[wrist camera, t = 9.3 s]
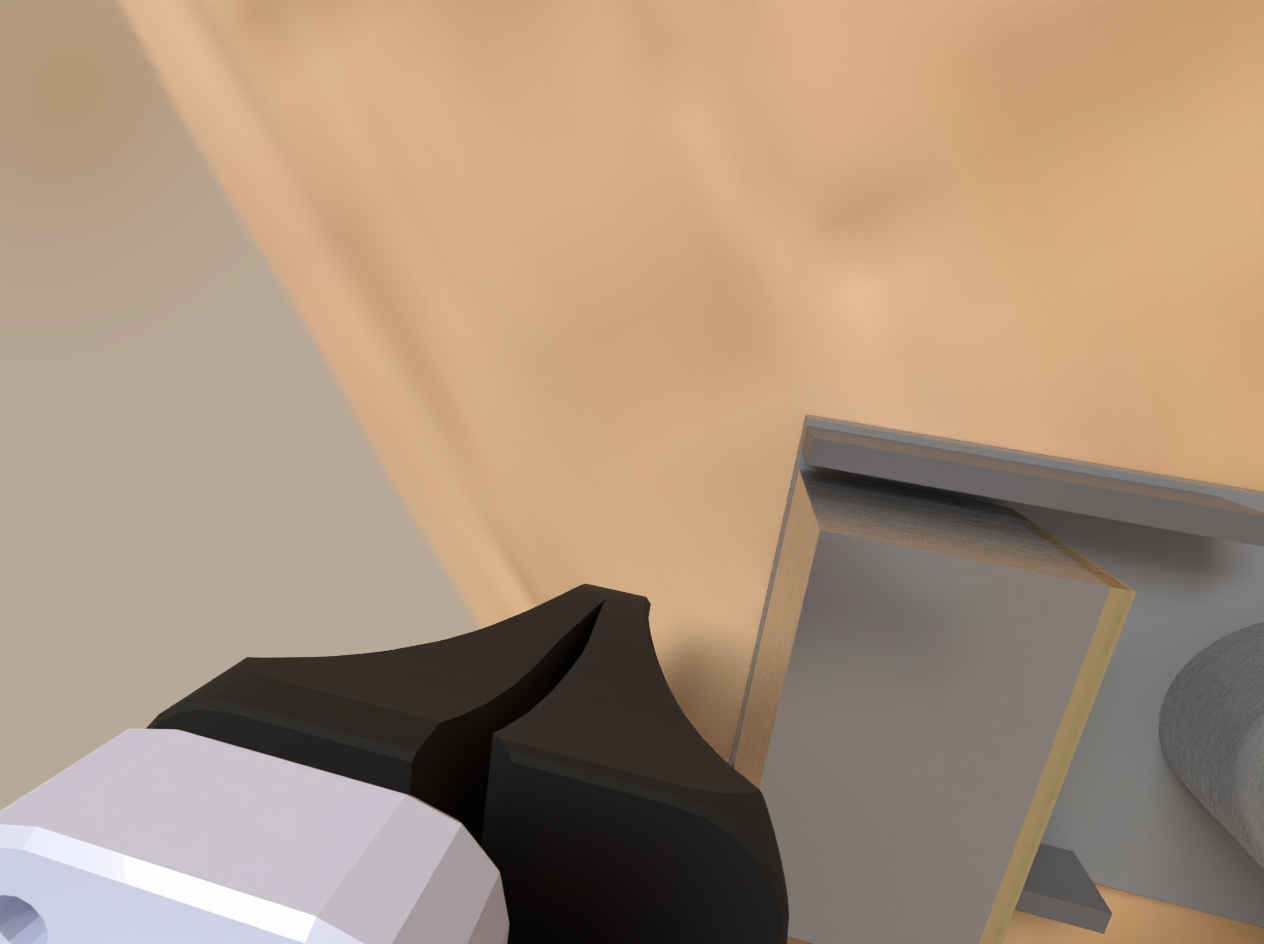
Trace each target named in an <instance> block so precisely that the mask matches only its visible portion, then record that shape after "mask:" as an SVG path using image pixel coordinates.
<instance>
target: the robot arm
mask: <svg viewBox="0 0 1264 944" xmlns="http://www.w3.org/2000/svg"><path fill="white" fill-rule="evenodd" d="M650 605H651V604H650V602H649V601H648V599H647V598H646V597H644V596H639V595H635V594H630V593H626V592H621V591H617V590H612V589H607V588H603V587H598V586H594V585H589V584H583V585H580V586H578V587H576V588H574V589H572V590H570V591H568V592H566V593H564V594H562V595H560V596H558V597H556V598H554V599H551V600H549V601H547V602H545V603H543V604H541V605H539V606H537V607H535V608H533V609H530V610H528V611H526V612H523V613H521V614H519V615H516V616H514V617H511V618H509V619H506V620H504V621H501V622H499V623H496V624H494V625H491V626H489V627H486V628H483V629H480V630H477V631H474V632H471V633H467V634H464V635H460V636H456V637H453V638H449V639H445V640H441V641H437V642H432V643H427V644H422V645H416V646H411V647H406V648H400V649H395V650H389V651H382V652H373V653H365V654H355V655H343V656H328V657H289V658H252V657H251V658H250V657H247V658H245V659H244V660H242V661H241V662H239V663H238V664H236V665H234V666H233V667H231V668H230V669H228V670H227V671H225V672H224V673H222V674H221V675H219V676H218V677H216V678H214V679H213V680H211V681H210V682H208V683H207V684H205V685H204V686H202V687H200V688H199V689H197V690H196V691H194V692H193V693H191V694H190V695H188V696H187V697H185V698H184V699H182V700H181V701H179V702H177V703H176V704H175V705H173V706H171V707H170V708H168V709H167V710H165V711H163V712H162V713H160V714H159V715H158V716H157V717H156V718H155V719H154V720H153V721H152V723H151V724H150V725H149V726H148V727H147V728H146V729H128V730H126V731H124V732H123V733H121V734H120V735H118V736H117V737H115V738H114V739H112V740H110V741H109V742H107V743H106V744H104V745H102V746H101V747H99V748H98V749H97V750H95V751H93V752H92V753H90V754H88V755H87V756H85V757H84V758H82V759H81V760H79V761H77V762H76V763H74V764H73V765H71V766H70V767H68V768H67V769H65V770H63V771H62V772H60V773H59V774H57V775H55V776H54V777H52V778H51V779H49V780H48V781H46V782H44V783H43V784H41V785H40V786H38V787H37V788H35V789H34V790H32V791H30V792H29V793H27V794H26V795H24V796H23V797H21V798H19V799H18V800H16V801H15V802H13V803H12V804H10V805H8V806H7V807H5V808H4V809H3V810H1V811H0V944H787V935H788V925H789V906H788V894H787V888H786V882H785V876H784V871H783V866H782V861H781V856H780V852H779V848H778V844H777V840H776V836H775V832H774V828H773V825H772V821H771V818H770V815H769V811H768V808H767V805H766V802H765V799H764V796H763V794H762V792H761V791H760V789H758V788H757V787H756V786H755V785H753V784H752V783H751V782H750V781H749V780H747V779H746V778H745V777H744V776H742V775H741V774H740V773H739V772H738V771H736V770H735V769H734V768H733V767H732V766H730V765H729V764H728V763H727V762H725V761H724V760H723V759H722V758H721V757H720V756H719V755H718V754H717V753H716V752H715V751H714V750H713V749H712V748H711V746H710V745H709V744H708V743H707V742H706V741H705V740H704V739H703V738H702V737H701V736H700V734H699V733H698V732H697V731H696V729H695V728H694V727H693V725H692V724H691V723H690V721H689V720H688V719H687V717H686V716H685V715H684V713H683V711H682V710H681V708H680V707H679V705H678V703H677V702H676V700H675V698H674V696H673V694H672V692H671V690H670V688H669V686H668V684H667V682H666V680H665V677H664V675H663V673H662V670H661V667H660V665H659V662H658V659H657V656H656V653H655V649H654V645H653V641H652V637H651V633H650V628H649V619H648V617H649V611H650Z"/></svg>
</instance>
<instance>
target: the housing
mask: <svg viewBox="0 0 1264 944" xmlns="http://www.w3.org/2000/svg"><path fill="white" fill-rule="evenodd" d="M1158 726H1159V739H1160V743H1161V748H1162V751H1163V754H1164V756H1165V758H1166V761H1167V763H1168V764H1169V766H1170V768H1171V769H1172V771H1173V772H1174V774H1175V775H1176V776H1177V777H1178V779H1179V780H1180V781H1181V782H1182V783H1183V784H1184V785H1185V787H1186V788H1187V789H1188V790H1189V791H1190V792H1191V793H1192V794H1193V795H1194V796H1195V797H1196V798H1197V799H1198V800H1199V801H1200V802H1201V803H1202V804H1203V805H1204V806H1205V807H1206V809H1207V810H1208V811H1209V812H1210V813H1211V814H1212V815H1213V816H1214V817H1215V818H1216V819H1217V820H1218V821H1219V822H1220V823H1221V824H1222V825H1223V826H1224V827H1225V828H1226V829H1227V831H1228V832H1229V833H1230V834H1231V835H1232V836H1233V837H1234V838H1235V839H1236V840H1237V841H1238V842H1239V843H1240V844H1241V845H1242V846H1243V847H1244V848H1245V849H1246V850H1247V852H1248V853H1249V854H1250V855H1251V856H1252V857H1253V858H1254V859H1255V860H1256V861H1257V862H1258V863H1259V864H1260V865H1261V866H1262V867H1263V868H1264V622H1262V623H1259V624H1255V625H1252V626H1249V627H1245V628H1243V629H1240V630H1238V631H1235V632H1233V633H1231V634H1228V635H1226V636H1224V637H1223V638H1221V639H1219V640H1217V641H1215V642H1213V643H1212V644H1210V645H1209V646H1208V647H1206V648H1205V649H1203V650H1202V651H1200V652H1199V653H1198V654H1197V655H1196V656H1194V657H1193V658H1192V659H1191V660H1190V661H1189V662H1188V663H1187V664H1186V665H1185V666H1184V667H1183V668H1182V670H1181V671H1180V672H1179V673H1178V674H1177V676H1176V677H1175V679H1174V680H1173V682H1172V683H1171V685H1170V686H1169V688H1168V691H1167V693H1166V695H1165V697H1164V699H1163V703H1162V706H1161V710H1160V715H1159V725H1158Z"/></svg>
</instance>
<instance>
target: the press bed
mask: <svg viewBox="0 0 1264 944" xmlns="http://www.w3.org/2000/svg"><path fill="white" fill-rule="evenodd" d="M799 469H803V470H808V471H814V472H819V473H825V474H830V475H836V476H841V477H847V478H852V479H858V480H863V481H869V482H874V483H880V484H885V485H891V486H896V487H902V488H907V489H913V490H918V491H923V492H929V493H934V494H940V495H945V496H951V497H956V498H962V499H967V500H973V501H978V502H984V503H989V504H995V505H1000V506H1006V507H1011V508H1013V509H1015V510H1016V511H1018V512H1019V513H1020V514H1022V515H1023V516H1025V517H1026V518H1028V519H1029V520H1031V521H1032V522H1034V523H1035V524H1037V525H1038V526H1040V527H1041V528H1043V529H1044V530H1046V531H1047V532H1049V533H1050V534H1051V535H1053V536H1054V537H1056V538H1057V539H1059V540H1060V541H1062V542H1063V543H1065V544H1066V545H1068V546H1069V547H1071V548H1072V549H1074V550H1075V551H1077V552H1078V553H1080V554H1081V555H1082V556H1084V557H1085V558H1087V559H1088V560H1090V561H1091V562H1093V563H1094V564H1096V565H1097V566H1099V567H1100V568H1102V569H1103V570H1105V571H1106V572H1108V573H1109V574H1111V575H1112V576H1113V577H1115V578H1116V579H1118V580H1119V581H1121V582H1122V583H1124V584H1125V585H1127V586H1128V587H1130V588H1131V589H1133V590H1134V591H1136V594H1135V597H1134V599H1133V602H1132V605H1131V607H1130V610H1129V612H1128V615H1127V618H1126V620H1125V623H1124V625H1123V628H1122V631H1121V633H1120V636H1119V638H1118V641H1117V644H1116V646H1115V649H1114V652H1113V654H1112V657H1111V659H1110V662H1109V665H1108V667H1107V670H1106V672H1105V675H1104V678H1103V680H1102V683H1101V685H1100V688H1099V691H1098V693H1097V696H1096V698H1095V701H1094V704H1093V706H1092V709H1091V712H1090V714H1089V717H1088V719H1087V722H1086V725H1085V727H1084V730H1083V732H1082V735H1081V738H1080V740H1079V743H1078V745H1077V748H1076V751H1075V753H1074V756H1073V759H1072V761H1071V764H1070V766H1069V769H1068V772H1067V774H1066V777H1065V779H1064V782H1063V785H1062V787H1061V790H1060V792H1059V795H1058V798H1057V800H1056V803H1055V806H1054V808H1053V811H1052V813H1051V816H1050V819H1049V821H1048V824H1047V826H1046V829H1045V832H1044V834H1043V837H1042V839H1041V842H1040V845H1039V847H1038V850H1037V852H1036V855H1035V858H1034V860H1033V863H1032V866H1031V868H1030V871H1029V873H1028V876H1027V879H1026V881H1025V884H1024V886H1023V889H1022V892H1021V894H1020V897H1019V899H1018V902H1017V905H1016V907H1015V910H1019V911H1023V912H1026V913H1030V914H1034V915H1037V916H1041V917H1045V918H1048V919H1052V920H1056V921H1059V922H1063V923H1067V924H1070V925H1074V926H1078V927H1081V928H1085V929H1089V930H1092V931H1096V932H1100V933H1103V934H1104V932H1105V929H1106V927H1107V925H1108V922H1109V920H1110V918H1111V915H1112V913H1111V911H1110V909H1109V908H1108V906H1107V905H1106V903H1105V901H1104V900H1103V898H1102V897H1101V895H1100V893H1099V892H1098V890H1097V888H1096V887H1095V885H1094V884H1093V883H1096V884H1100V885H1104V886H1107V887H1111V888H1115V889H1119V890H1123V891H1127V892H1130V893H1134V894H1138V895H1142V896H1146V897H1149V898H1153V899H1157V900H1161V901H1165V902H1168V903H1172V904H1176V905H1180V906H1184V907H1188V908H1191V909H1195V910H1199V911H1203V912H1207V913H1210V914H1214V915H1218V916H1222V917H1226V918H1230V919H1233V920H1237V921H1241V922H1245V923H1249V924H1252V925H1256V926H1260V927H1264V868H1263V867H1262V866H1261V865H1260V864H1259V863H1258V862H1257V861H1256V860H1255V859H1254V858H1253V857H1252V856H1251V855H1250V854H1249V853H1248V852H1247V850H1246V849H1245V848H1244V847H1243V846H1242V845H1241V844H1240V843H1239V842H1238V841H1237V840H1236V839H1235V838H1234V837H1233V836H1232V835H1231V834H1230V833H1229V832H1228V831H1227V829H1226V828H1225V827H1224V826H1223V825H1222V824H1221V823H1220V822H1219V821H1218V820H1217V819H1216V818H1215V817H1214V816H1213V815H1212V814H1211V813H1210V812H1209V811H1208V810H1207V809H1206V807H1205V806H1204V805H1203V804H1202V803H1201V802H1200V801H1199V800H1198V799H1197V798H1196V797H1195V796H1194V795H1193V794H1192V793H1191V792H1190V791H1189V790H1188V789H1187V788H1186V787H1185V785H1184V784H1183V783H1182V782H1181V781H1180V780H1179V779H1178V777H1177V776H1176V775H1175V774H1174V772H1173V771H1172V769H1171V768H1170V766H1169V764H1168V763H1167V761H1166V758H1165V756H1164V754H1163V751H1162V748H1161V743H1160V739H1159V726H1158V725H1159V715H1160V710H1161V706H1162V703H1163V699H1164V697H1165V695H1166V693H1167V691H1168V688H1169V686H1170V685H1171V683H1172V682H1173V680H1174V679H1175V677H1176V676H1177V674H1178V673H1179V672H1180V671H1181V670H1182V668H1183V667H1184V666H1185V665H1186V664H1187V663H1188V662H1189V661H1190V660H1191V659H1192V658H1193V657H1194V656H1196V655H1197V654H1198V653H1199V652H1200V651H1202V650H1203V649H1205V648H1206V647H1208V646H1209V645H1210V644H1212V643H1213V642H1215V641H1217V640H1219V639H1221V638H1223V637H1224V636H1226V635H1228V634H1231V633H1233V632H1235V631H1238V630H1240V629H1243V628H1245V627H1249V626H1252V625H1255V624H1259V623H1262V622H1264V492H1261V491H1255V490H1249V489H1243V488H1237V487H1231V486H1225V485H1219V484H1213V483H1208V482H1202V481H1196V480H1190V479H1184V478H1178V477H1172V476H1166V475H1160V474H1154V473H1148V472H1143V471H1137V470H1131V469H1125V468H1119V467H1113V466H1107V465H1101V464H1095V463H1089V462H1083V461H1077V460H1072V459H1066V458H1060V457H1054V456H1048V455H1042V454H1036V453H1030V452H1024V451H1018V450H1012V449H1007V448H1001V447H995V446H989V445H983V444H977V443H971V442H965V441H959V440H953V439H947V438H941V437H936V436H930V435H924V434H918V433H912V432H906V431H900V430H894V429H888V428H882V427H876V426H871V425H865V424H859V423H853V422H847V421H841V420H835V419H829V418H823V417H817V416H811V415H806V417H805V421H804V426H803V430H802V435H801V439H800V444H799V449H798V453H797V458H796V462H795V467H794V471H793V476H792V481H791V485H790V490H789V494H788V499H787V503H786V508H785V512H784V517H783V522H782V526H781V531H780V535H779V540H778V544H777V549H776V553H775V558H774V563H773V567H772V572H771V576H770V581H769V585H768V590H767V595H766V599H765V604H764V608H763V613H762V617H761V622H760V626H759V631H758V636H757V640H756V645H755V649H754V654H753V658H752V663H751V667H750V672H749V677H748V681H747V686H746V690H745V695H744V699H743V704H742V708H741V713H740V718H739V722H738V727H737V731H736V736H735V740H734V745H733V750H732V754H731V759H730V763H729V765H730V766H732V767H733V768H734V763H735V756H736V751H737V747H738V742H739V738H740V733H741V729H742V724H743V720H744V715H745V711H746V706H747V702H748V697H749V693H750V688H751V684H752V679H753V675H754V670H755V666H756V661H757V657H758V652H759V648H760V643H761V639H762V634H763V630H764V625H765V620H766V616H767V611H768V607H769V602H770V598H771V593H772V589H773V584H774V580H775V575H776V571H777V566H778V562H779V557H780V553H781V548H782V544H783V539H784V535H785V530H786V526H787V521H788V517H789V512H790V508H791V503H792V499H793V494H794V490H795V485H796V480H797V476H798V471H799Z"/></svg>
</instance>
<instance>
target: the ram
mask: <svg viewBox="0 0 1264 944" xmlns="http://www.w3.org/2000/svg"><path fill="white" fill-rule="evenodd" d="M1135 594H1136V591H1134V590H1133V589H1131V588H1130V587H1128V586H1127V585H1125V584H1124V583H1122V582H1121V581H1119V580H1118V579H1116V578H1115V577H1113V576H1112V575H1111V574H1109V573H1108V572H1106V571H1105V570H1103V569H1102V568H1100V567H1099V566H1097V565H1096V564H1094V563H1093V562H1091V561H1090V560H1088V559H1087V558H1085V557H1084V556H1082V555H1081V554H1080V553H1078V552H1077V551H1075V550H1074V549H1072V548H1071V547H1069V546H1068V545H1066V544H1065V543H1063V542H1062V541H1060V540H1059V539H1057V538H1056V537H1054V536H1053V535H1051V534H1050V533H1049V532H1047V531H1046V530H1044V529H1043V528H1041V527H1040V526H1038V525H1037V524H1035V523H1034V522H1032V521H1031V520H1029V519H1028V518H1026V517H1025V516H1023V515H1022V514H1020V513H1019V512H1018V511H1016V510H1015V509H1013V508H1011V507H1006V506H1000V505H995V504H989V503H984V502H978V501H973V500H967V499H962V498H956V497H951V496H945V495H940V494H934V493H929V492H923V491H918V490H913V489H907V488H902V487H896V486H891V485H885V484H880V483H874V482H869V481H863V480H858V479H852V478H847V477H841V476H836V475H830V474H825V473H819V472H814V471H808V470H803V469H799V471H798V476H797V480H796V485H795V490H794V494H793V499H792V503H791V508H790V512H789V517H788V521H787V526H786V530H785V535H784V539H783V544H782V548H781V553H780V557H779V562H778V566H777V571H776V575H775V580H774V584H773V589H772V593H771V598H770V602H769V607H768V611H767V616H766V620H765V625H764V630H763V634H762V639H761V643H760V648H759V652H758V657H757V661H756V666H755V670H754V675H753V679H752V684H751V688H750V693H749V697H748V702H747V706H746V711H745V715H744V720H743V724H742V729H741V733H740V738H739V742H738V747H737V751H736V756H735V763H734V769H735V770H736V771H738V772H739V773H740V774H741V775H742V776H744V777H745V778H746V779H747V780H749V781H750V782H751V783H752V784H753V785H755V786H756V787H757V788H758V789H760V791H761V792H762V794H763V796H764V799H765V802H766V805H767V808H768V811H769V815H770V818H771V821H772V825H773V828H774V832H775V836H776V840H777V844H778V848H779V852H780V856H781V861H782V866H783V871H784V876H785V882H786V888H787V894H788V906H789V925H788V935H787V936H788V937H791V938H795V939H798V940H801V941H805V942H808V943H812V944H1002V941H1003V939H1004V936H1005V933H1006V931H1007V928H1008V926H1009V923H1010V920H1011V918H1012V915H1013V913H1014V910H1015V907H1016V905H1017V902H1018V899H1019V897H1020V894H1021V892H1022V889H1023V886H1024V884H1025V881H1026V879H1027V876H1028V873H1029V871H1030V868H1031V866H1032V863H1033V860H1034V858H1035V855H1036V852H1037V850H1038V847H1039V845H1040V842H1041V839H1042V837H1043V834H1044V832H1045V829H1046V826H1047V824H1048V821H1049V819H1050V816H1051V813H1052V811H1053V808H1054V806H1055V803H1056V800H1057V798H1058V795H1059V792H1060V790H1061V787H1062V785H1063V782H1064V779H1065V777H1066V774H1067V772H1068V769H1069V766H1070V764H1071V761H1072V759H1073V756H1074V753H1075V751H1076V748H1077V745H1078V743H1079V740H1080V738H1081V735H1082V732H1083V730H1084V727H1085V725H1086V722H1087V719H1088V717H1089V714H1090V712H1091V709H1092V706H1093V704H1094V701H1095V698H1096V696H1097V693H1098V691H1099V688H1100V685H1101V683H1102V680H1103V678H1104V675H1105V672H1106V670H1107V667H1108V665H1109V662H1110V659H1111V657H1112V654H1113V652H1114V649H1115V646H1116V644H1117V641H1118V638H1119V636H1120V633H1121V631H1122V628H1123V625H1124V623H1125V620H1126V618H1127V615H1128V612H1129V610H1130V607H1131V605H1132V602H1133V599H1134V597H1135Z"/></svg>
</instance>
